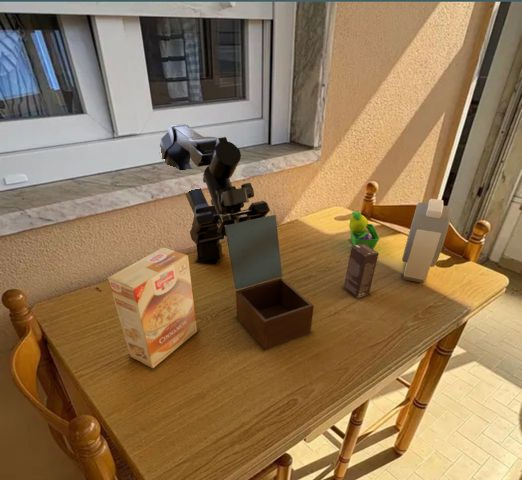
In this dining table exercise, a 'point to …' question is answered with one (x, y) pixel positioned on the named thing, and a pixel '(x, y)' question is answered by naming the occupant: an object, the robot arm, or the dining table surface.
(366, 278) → the box
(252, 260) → the lid
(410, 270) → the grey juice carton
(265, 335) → the chest
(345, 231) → the dining table surface
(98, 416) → the dining table surface
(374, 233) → the fruit basket
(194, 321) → the coffeecake box
